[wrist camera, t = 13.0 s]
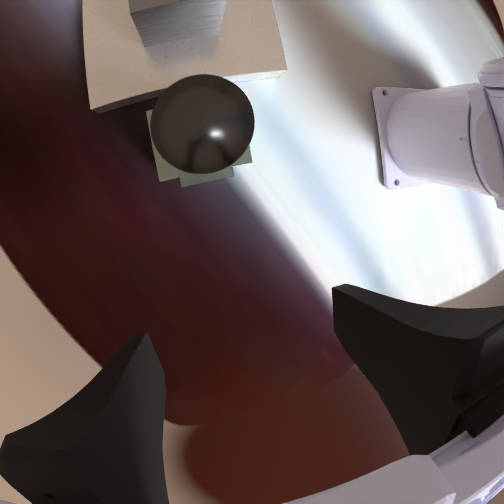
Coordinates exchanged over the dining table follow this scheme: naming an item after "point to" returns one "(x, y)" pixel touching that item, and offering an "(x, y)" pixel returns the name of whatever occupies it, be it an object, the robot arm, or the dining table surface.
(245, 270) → the dining table surface
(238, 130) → the press ram
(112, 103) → the plate
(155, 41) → the housing
